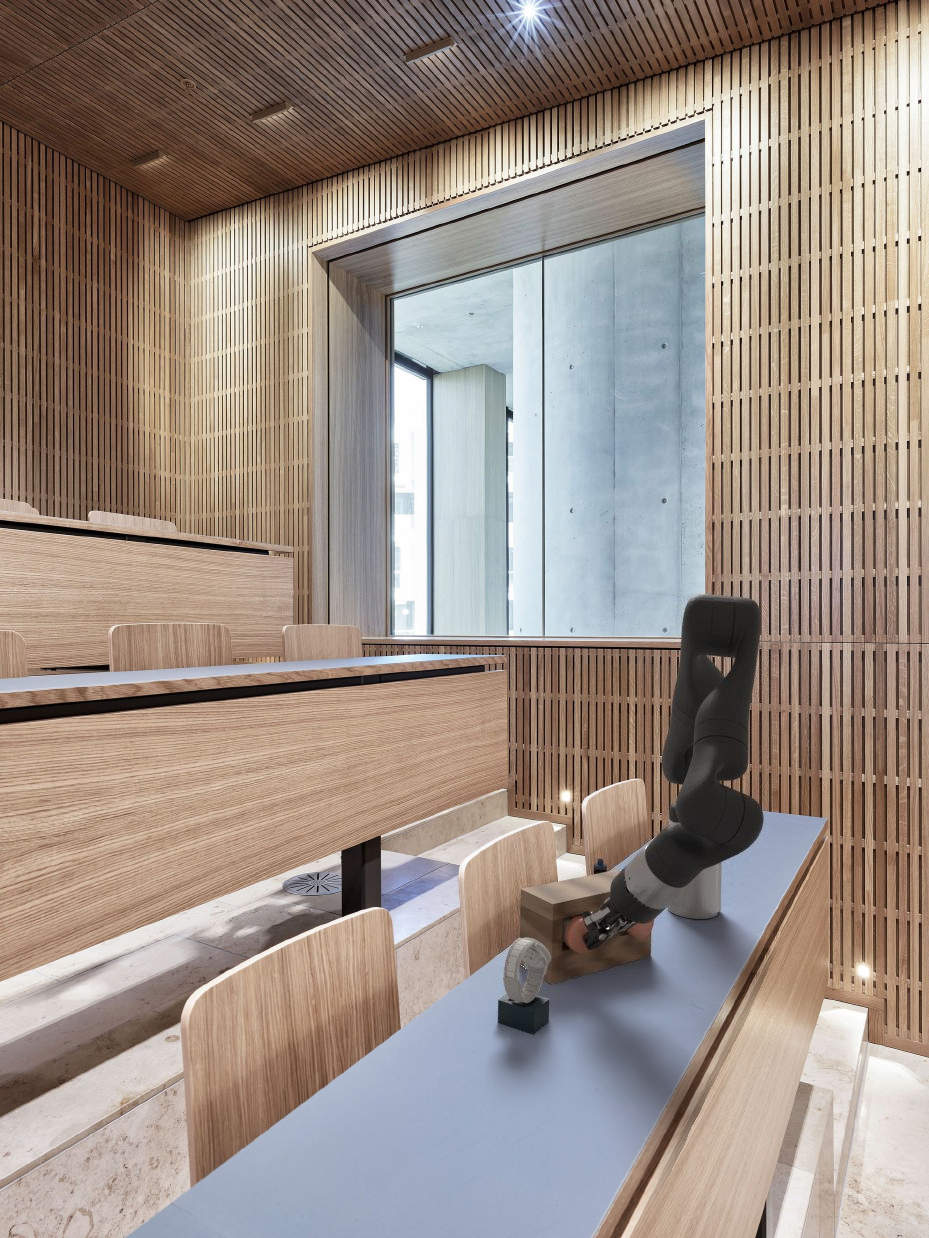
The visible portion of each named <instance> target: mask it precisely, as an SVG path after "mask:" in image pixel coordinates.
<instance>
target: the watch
mask: <svg viewBox="0 0 929 1238" xmlns="http://www.w3.org/2000/svg"><path fill="white" fill-rule="evenodd" d="M521 961H522V962H523V963H524V966H525V968H526V969H525V968H524V969H525V970H526V971H528V972H527V977H526V980H525V983H524V985H523V987H522V983H521V982H522V981H521V980H520V979H519V970H520V967H521V966H520V963H521ZM550 961H551V955H550V952H549V951H548V949H547V948H546V947H545V946H544V945H543V944H542V943H540V942H539V941H537V940H535V939H532V938H527V937H525V938H520V937H518V938H517V939H515V940H514V941H513V943H512V944H511V946H510V947H509V948H508V951H507V955H506V958H505V962H504V967H503V977H502V979H503V981H502V982H503V985H504V989H505V992H506V993H505V994H504V995H503V996H501V997H499V998H498V1000H497V1024H500V1025H502V1026H505V1027H508V1028H511V1029H514V1030H518V1031H521V1032H523V1033H527V1034H530V1035H532V1036H535V1035H536V1034H537V1033H538V1032H539V1031H540V1030H542V1028H544V1027H545V1026H546V1025H547V1024H549V1023H550V998H549V997H544V996H541V995H539V992H540V989H541V987H542V984H543V981H544V980H543V978H544V975H546V973H547V969H548V965H549V962H550ZM528 969H529V970H528Z"/></svg>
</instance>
